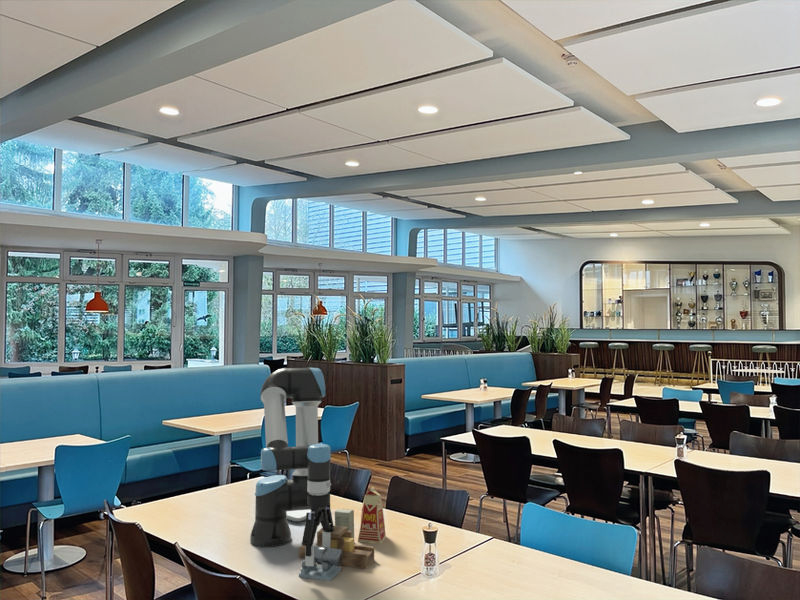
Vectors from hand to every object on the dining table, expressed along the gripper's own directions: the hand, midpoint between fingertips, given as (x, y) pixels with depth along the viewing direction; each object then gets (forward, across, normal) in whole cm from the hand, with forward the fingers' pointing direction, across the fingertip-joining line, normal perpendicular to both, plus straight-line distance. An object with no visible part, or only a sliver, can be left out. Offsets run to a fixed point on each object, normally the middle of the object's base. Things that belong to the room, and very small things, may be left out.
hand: (318, 558), depth 208 cm
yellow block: (+1, +13, -3) cm, 13 cm away
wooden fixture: (+5, +13, 0) cm, 14 cm away
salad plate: (+5, +56, +36) cm, 66 cm away
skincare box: (+5, +29, +2) cm, 30 cm away
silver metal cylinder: (+1, 0, -2) cm, 3 cm away
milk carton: (+5, +37, -5) cm, 38 cm away
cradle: (+5, 0, 0) cm, 5 cm away
